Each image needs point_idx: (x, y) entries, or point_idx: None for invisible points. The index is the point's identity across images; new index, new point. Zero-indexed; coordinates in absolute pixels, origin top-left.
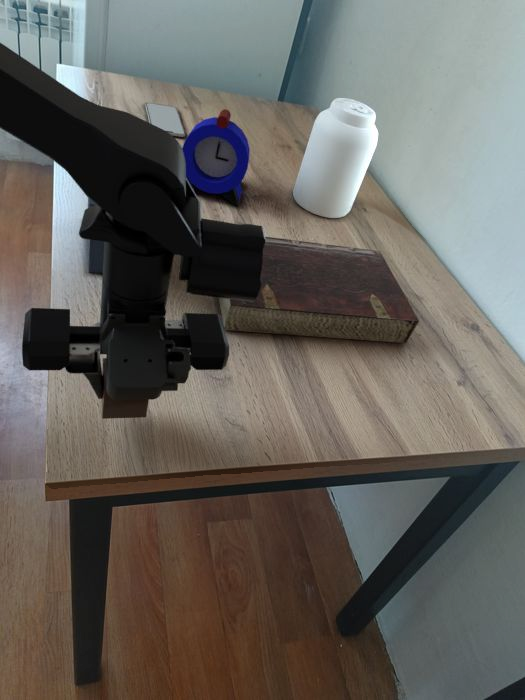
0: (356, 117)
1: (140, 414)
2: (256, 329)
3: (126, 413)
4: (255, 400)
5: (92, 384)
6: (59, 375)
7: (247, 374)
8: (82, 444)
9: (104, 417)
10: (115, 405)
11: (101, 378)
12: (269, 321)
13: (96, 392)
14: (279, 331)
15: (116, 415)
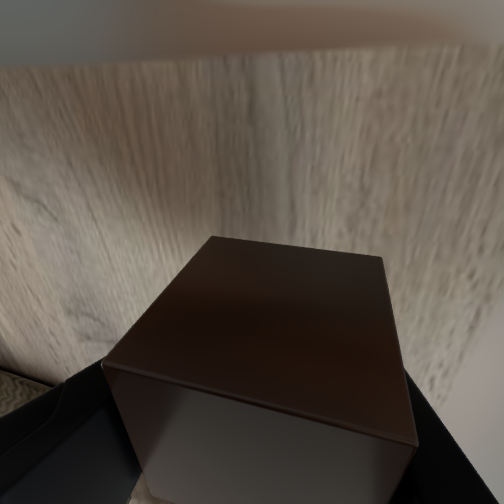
0: None
1: (225, 247)
2: (37, 389)
3: (279, 259)
4: (11, 255)
5: (479, 488)
6: (431, 401)
7: (40, 313)
8: (437, 193)
9: (374, 259)
10: (327, 303)
11: (398, 498)
12: (1, 404)
13: (415, 392)
14: (3, 377)
15: (322, 258)
